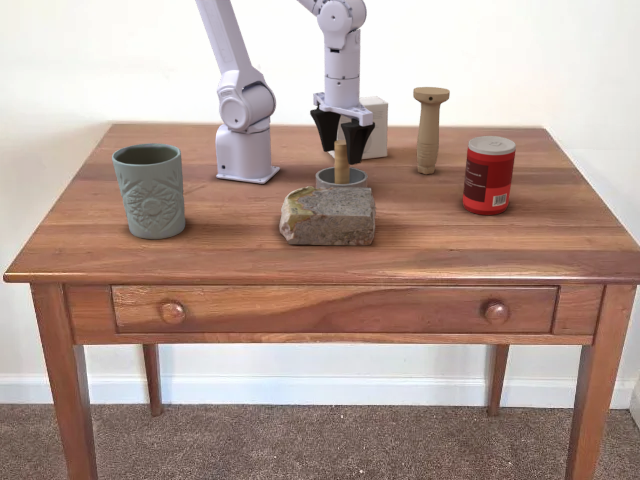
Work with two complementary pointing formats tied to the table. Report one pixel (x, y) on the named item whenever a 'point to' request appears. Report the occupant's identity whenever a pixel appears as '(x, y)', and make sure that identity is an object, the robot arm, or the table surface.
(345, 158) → the stick
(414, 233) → the table surface
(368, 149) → the cosmetics box
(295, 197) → the geological specimen
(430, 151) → the handle
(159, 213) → the drinking glass
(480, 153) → the canned food
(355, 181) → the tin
